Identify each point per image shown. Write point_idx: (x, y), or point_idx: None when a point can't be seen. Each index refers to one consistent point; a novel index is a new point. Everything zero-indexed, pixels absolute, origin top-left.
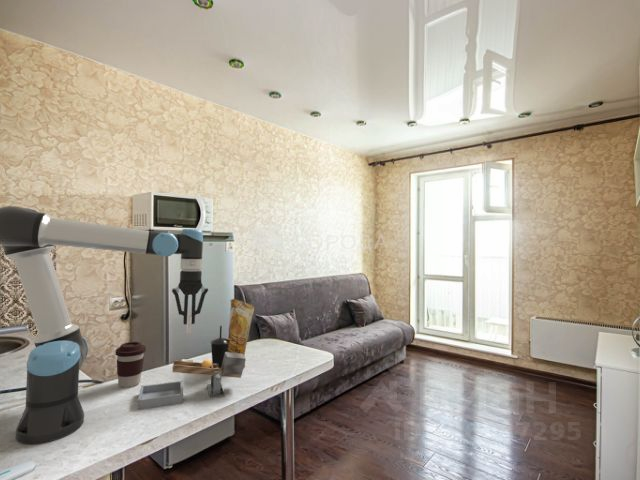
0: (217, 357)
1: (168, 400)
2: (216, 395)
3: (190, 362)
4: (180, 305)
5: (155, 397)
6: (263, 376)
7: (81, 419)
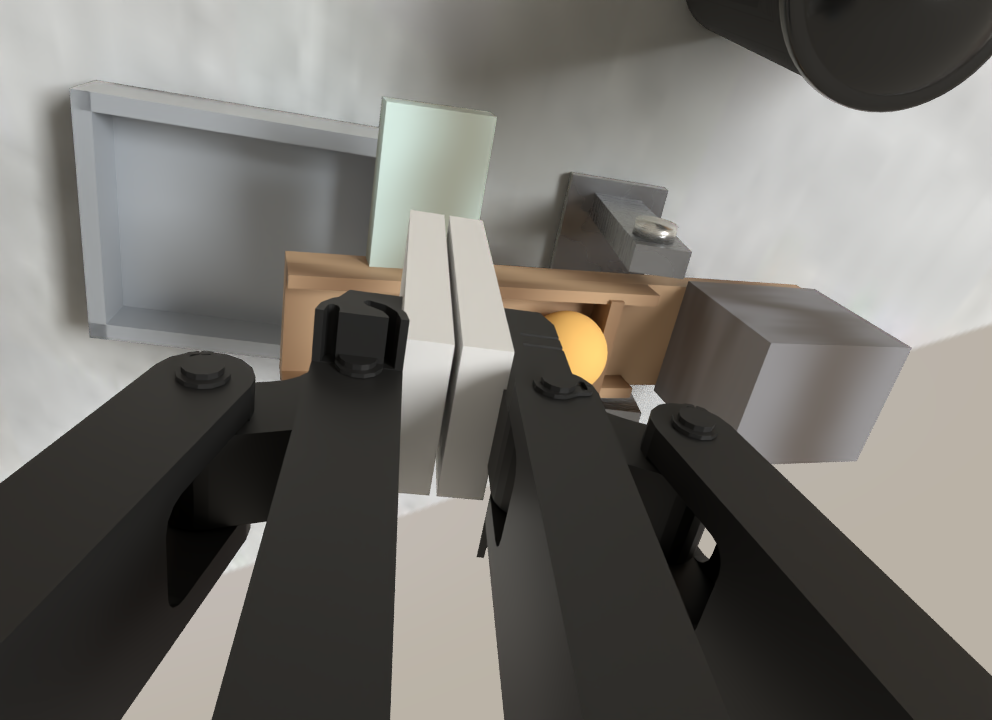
0: (762, 54)
1: None
2: None
3: None
4: (119, 713)
5: (199, 340)
6: (976, 202)
7: None
